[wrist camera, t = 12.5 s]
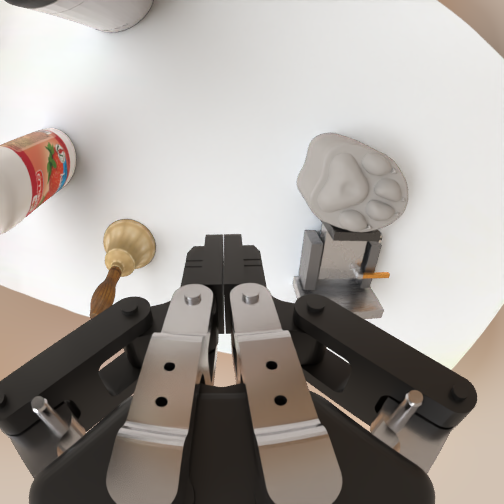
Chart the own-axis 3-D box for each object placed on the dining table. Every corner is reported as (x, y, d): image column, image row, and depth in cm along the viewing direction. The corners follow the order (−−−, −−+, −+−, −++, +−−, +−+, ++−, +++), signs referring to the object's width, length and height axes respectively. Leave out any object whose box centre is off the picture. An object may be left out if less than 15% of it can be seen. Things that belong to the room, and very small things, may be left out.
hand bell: (162, 230, 42) (134, 302, 28) (148, 275, 46) (122, 351, 32) (110, 211, 40) (61, 274, 26) (99, 257, 43) (59, 327, 30)
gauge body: (300, 230, 44) (315, 263, 36) (382, 232, 45) (409, 263, 37) (292, 284, 48) (304, 322, 41) (368, 282, 49) (389, 316, 42)
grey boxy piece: (321, 212, 42) (335, 232, 37) (388, 216, 43) (407, 234, 38) (312, 268, 46) (322, 292, 41) (375, 267, 47) (390, 289, 42)
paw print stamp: (316, 124, 36) (338, 135, 29) (395, 158, 39) (428, 176, 31) (290, 196, 41) (304, 223, 33) (369, 220, 44) (394, 249, 36)
